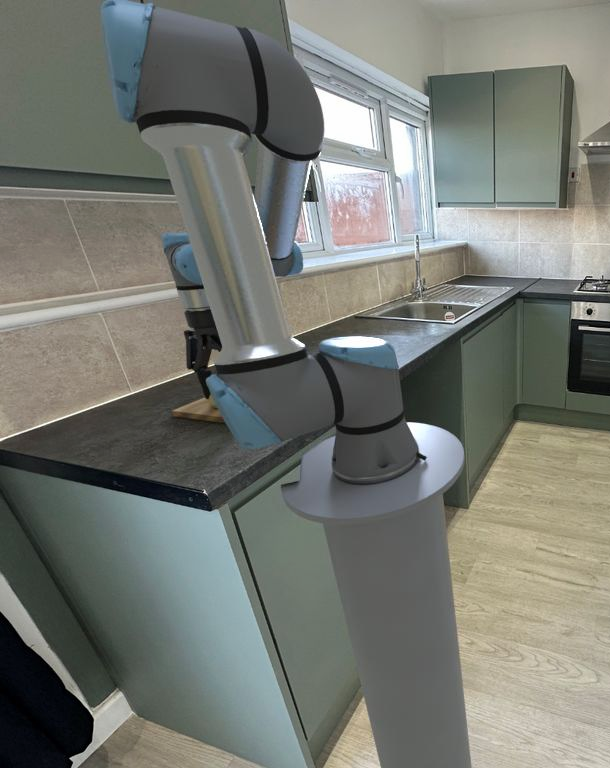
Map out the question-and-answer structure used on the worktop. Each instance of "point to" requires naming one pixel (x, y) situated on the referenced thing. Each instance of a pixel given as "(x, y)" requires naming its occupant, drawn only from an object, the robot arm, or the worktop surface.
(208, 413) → the cutting board
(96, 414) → the worktop surface
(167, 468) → the worktop surface
